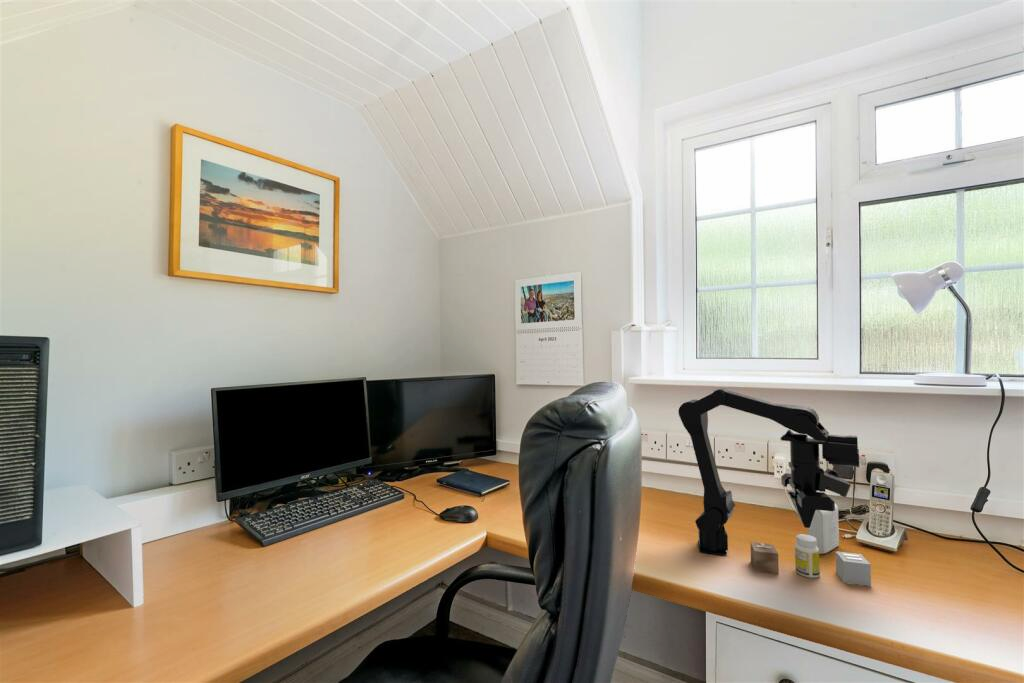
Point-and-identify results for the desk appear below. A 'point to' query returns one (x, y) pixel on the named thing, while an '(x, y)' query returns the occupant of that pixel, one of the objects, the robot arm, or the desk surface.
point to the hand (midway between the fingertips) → (806, 527)
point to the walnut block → (764, 558)
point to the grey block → (853, 568)
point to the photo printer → (825, 529)
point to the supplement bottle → (807, 556)
